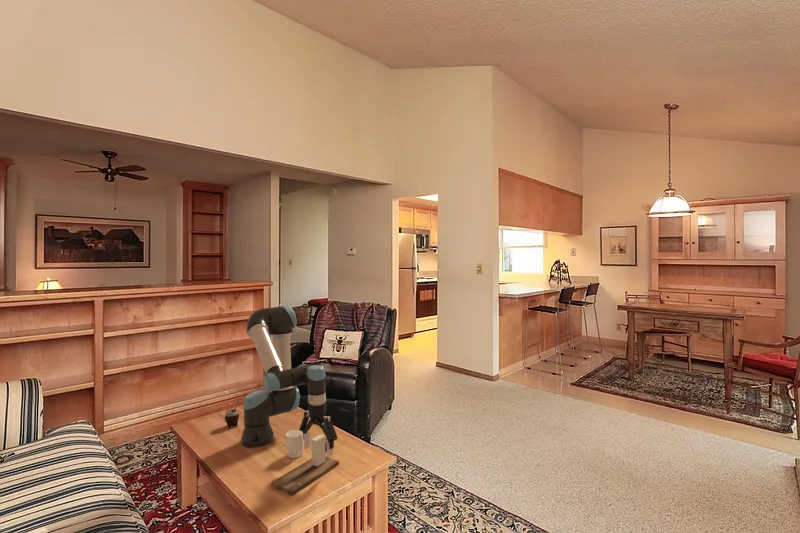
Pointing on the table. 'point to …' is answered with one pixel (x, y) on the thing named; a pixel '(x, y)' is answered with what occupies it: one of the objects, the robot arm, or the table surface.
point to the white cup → (294, 443)
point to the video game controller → (326, 443)
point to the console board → (303, 476)
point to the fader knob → (318, 450)
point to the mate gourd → (232, 416)
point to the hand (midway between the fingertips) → (318, 451)
